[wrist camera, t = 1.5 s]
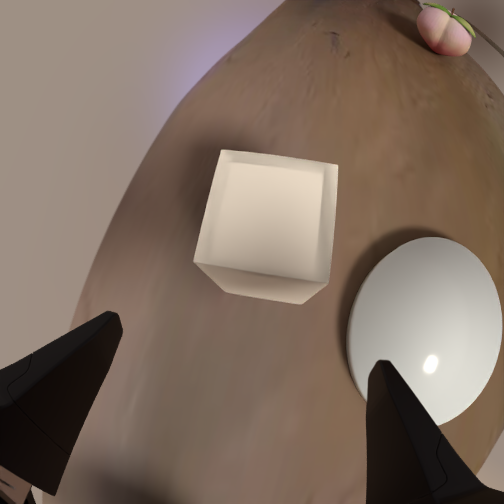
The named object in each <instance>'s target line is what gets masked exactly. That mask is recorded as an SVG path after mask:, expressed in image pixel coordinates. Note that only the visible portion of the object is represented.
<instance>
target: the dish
mask: <svg viewBox="0 0 504 504" xmlns="http://www.w3.org/2000/svg"><path fill="white" fill-rule="evenodd" d="M501 337H502V314H501V306H500V301H499V297H498V293H497V290H496V288H495V285H494V283H493V280H492V278H491V276H490V274H489V273H488V271H487V269H486V268H485V266H484V265H483V264H482V263H481V261H480V260H479V259H478V258H477V257H476V256H475V255H474V254H473V253H472V252H471V251H469V250H468V249H467V248H465V247H464V246H462V245H460V244H458V243H457V242H454V241H451V240H449V239H445V238H439V237H425V238H419V239H416V240H412V241H409V242H407V243H405V244H403V245H401V246H399V247H398V248H397V249H395V250H394V251H392V252H391V253H389V254H388V255H387V256H385V257H384V258H383V259H382V260H381V261H379V262H378V263H377V264H376V265H375V266H374V268H373V269H372V270H371V271H370V272H369V274H368V275H367V276H366V278H365V280H364V281H363V283H362V284H361V286H360V288H359V290H358V292H357V294H356V296H355V299H354V302H353V305H352V308H351V311H350V316H349V320H348V326H347V335H346V351H347V359H348V365H349V369H350V373H351V376H352V379H353V381H354V384H355V386H356V388H357V390H358V392H359V394H360V395H361V397H362V398H363V399H364V401H365V402H366V403H367V388H368V376H369V373H370V372H371V370H372V368H373V367H374V365H375V363H376V362H377V361H378V360H380V359H382V360H389V361H391V363H392V364H393V365H394V367H395V368H396V369H397V371H398V372H399V373H400V375H401V376H402V377H403V379H404V380H405V381H406V383H407V384H408V385H409V387H410V388H411V390H412V391H413V392H414V394H415V395H416V396H417V398H418V399H419V401H420V402H421V403H422V405H423V406H424V408H425V409H426V410H427V412H428V413H429V415H430V416H431V417H432V419H433V420H434V422H435V423H436V425H441V424H443V423H445V422H447V421H450V420H451V419H453V418H454V417H456V416H458V415H459V414H460V413H462V412H463V411H464V410H465V409H467V408H468V407H469V406H470V405H471V404H472V403H473V401H474V400H475V399H476V398H477V397H478V395H479V394H480V393H481V392H482V390H483V388H484V387H485V385H486V384H487V382H488V380H489V378H490V376H491V374H492V372H493V369H494V367H495V364H496V361H497V358H498V354H499V350H500V344H501Z"/></svg>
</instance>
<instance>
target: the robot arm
mask: <svg viewBox="0 0 504 504" xmlns="http://www.w3.org/2000/svg"><path fill="white" fill-rule="evenodd" d="M122 334H123V328H122V325H121V321H120V318H119V315H118V314H117V313H115V312H112V311H106V312H104V313H102V314H101V315H99V316H97V317H95V318H93V319H92V320H90V321H88V322H86V323H84V324H83V325H81V326H79V327H77V328H75V329H74V330H72V331H70V332H68V333H67V334H65V335H63V336H61V337H60V338H58V339H56V340H54V341H52V342H51V343H49V344H47V345H45V346H44V347H42V348H40V349H38V350H37V351H35V352H33V354H32V353H31V354H30V355H28V356H26V357H24V358H23V359H21V360H19V361H17V362H15V363H13V364H11V365H9V366H7V367H5V368H3V369H1V370H0V504H36V503H35V500H34V498H33V494H32V491H31V487H32V485H33V486H35V487H37V488H39V489H41V490H42V491H44V492H46V493H48V494H50V495H52V496H55V494H56V492H57V489H58V486H59V484H60V481H61V478H62V476H63V473H64V470H65V468H66V465H67V463H68V460H69V458H70V455H71V452H72V450H73V447H74V445H75V443H76V440H77V438H78V436H79V433H80V431H81V429H82V426H83V424H84V422H85V420H86V417H87V415H88V413H89V411H90V409H91V406H92V404H93V402H94V400H95V398H96V396H97V394H98V392H99V389H100V387H101V385H102V383H103V381H104V379H105V377H106V375H107V373H108V371H109V369H110V366H111V364H112V361H113V358H114V356H115V353H116V350H117V348H118V345H119V342H120V340H121V337H122ZM441 433H442V432H441V430H440V429H439V427H438V426H437V425H436V423H435V422H434V420H433V419H432V417H431V416H430V415H429V413H428V412H427V410H426V409H425V408H424V406H423V405H422V403H421V402H420V401H419V399H418V398H417V396H416V395H415V394H414V392H413V391H412V390H411V388H410V387H409V385H408V384H407V383H406V381H405V380H404V379H403V377H402V376H401V375H400V373H399V372H398V371H397V369H396V368H395V367H394V365H393V364H392V363H391V361H389V360H382V359H380V360H378V361H377V362H376V363H375V365H374V367H373V368H372V370H371V372H370V373H369V376H368V388H367V407H366V438H367V488H366V504H504V492H502V491H498V490H495V489H492V488H489V487H487V486H485V485H484V484H483V483H481V482H480V480H479V479H478V478H477V477H476V476H475V475H474V473H473V472H472V471H471V470H470V469H469V467H468V466H467V465H466V464H465V463H464V461H463V460H462V459H461V458H460V457H459V455H458V454H457V453H456V452H455V450H454V449H453V447H452V446H451V445H450V443H449V442H448V440H447V439H446V437H445V436H444V435H443V434H441Z"/></svg>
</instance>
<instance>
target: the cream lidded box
mask: <svg viewBox="0 0 504 504" xmlns="http://www.w3.org/2000/svg"><path fill="white" fill-rule="evenodd" d="M337 179H338V165H334V164H328V163H323V162H317V161H311V160H305V159H298V158H291V157H284V156H277V155H269V154H261V153H252V152H243V151H233V150H222V149H221V153H220V157H219V160H218V164H217V167H216V171H215V175H214V179H213V182H212V186H211V190H210V194H209V198H208V202H207V206H206V210H205V214H204V218H203V222H202V226H201V230H200V235H199V239H198V243H197V247H196V252H195V256H194V261H193V262H194V263H195V264H196V265H197V266H198V267H199V268H200V269H201V270H202V271H203V272H204V273H206V274H207V275H208V276H209V277H210V278H211V279H212V280H213V281H214V282H215V283H216V284H217V285H218V286H219V287H220V288H221V289H223V290H224V291H225V292H227V293H232V294H238V295H244V296H250V297H256V298H262V299H268V300H274V301H280V302H287V303H294V304H300V305H301V304H303V303H304V302H305V301H307V300H308V299H309V298H311V297H312V296H313V295H314V294H316V293H317V292H318V291H320V290H321V289H322V288H323V287H325V286H326V285H327V284H328V283H329V276H330V267H331V258H332V248H333V237H334V225H335V212H336V197H337Z"/></svg>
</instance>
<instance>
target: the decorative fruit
mask: <svg viewBox="0 0 504 504" xmlns="http://www.w3.org/2000/svg"><path fill="white" fill-rule="evenodd" d="M424 5H430V6H431V7H427V8H425V9H424V10H422V11H421V13H420V14H419V16H418V18H417V27H418V30H419V33H420V34H421V36H422V38H423V39H424V41H425V42H426V43H427V44H428V46H429V47H430V48H431V49H432V50H433V51H434V52H436V53H438V54H442V55H446V56H461V55H463V54H465V53H466V52H467V51H468V50H469V48H470V45H471V34H472V35H473V36H474V37H475V33H474V31H473V29H472V27H471V26H470V25H469V24H468V23H467V22H466V21H465V20H464V19H462V18H460V17H458V16H457V15H455V14H454V10H455V9H454V8H453V9H452V12H450V11H449V10H447V9H446V8H444V7H443V6H441V5H439V4H436V3H424ZM475 38H476V37H475Z"/></svg>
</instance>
